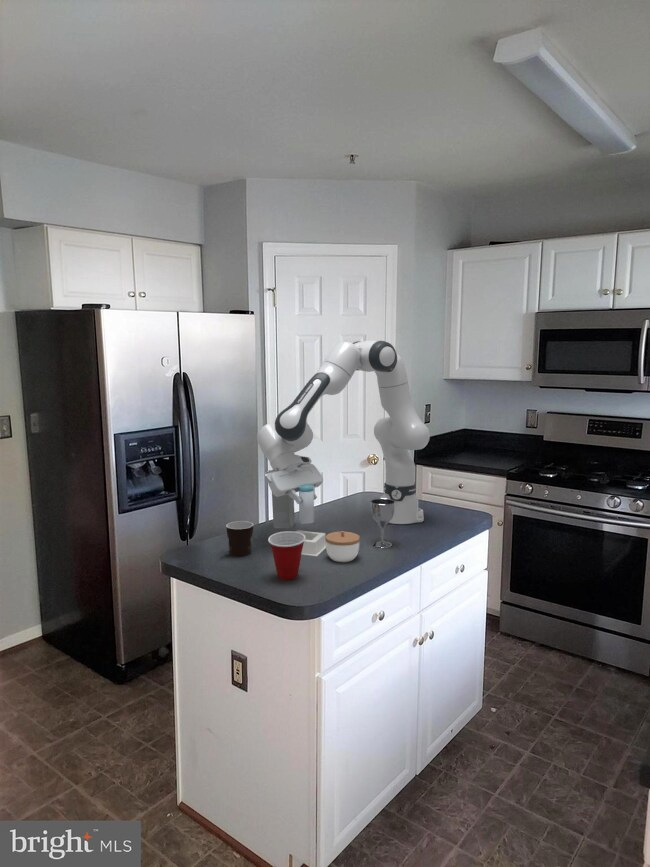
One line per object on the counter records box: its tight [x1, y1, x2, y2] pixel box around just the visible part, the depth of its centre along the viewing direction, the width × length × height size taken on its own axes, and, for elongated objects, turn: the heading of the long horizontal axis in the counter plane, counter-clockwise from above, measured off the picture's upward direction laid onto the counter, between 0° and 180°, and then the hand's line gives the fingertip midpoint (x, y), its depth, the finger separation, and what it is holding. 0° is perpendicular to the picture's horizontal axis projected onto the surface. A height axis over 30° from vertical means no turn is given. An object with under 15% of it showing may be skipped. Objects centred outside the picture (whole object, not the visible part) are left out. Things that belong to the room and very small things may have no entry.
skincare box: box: [271, 492, 296, 530], centre depth 222 cm, size 8×7×16 cm
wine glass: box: [370, 497, 395, 549], centre depth 203 cm, size 8×8×15 cm
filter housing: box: [295, 529, 327, 557], centre depth 198 cm, size 12×12×5 cm
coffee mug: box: [225, 520, 254, 558], centre depth 194 cm, size 12×9×10 cm
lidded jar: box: [325, 530, 361, 563], centre depth 188 cm, size 11×11×9 cm
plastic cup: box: [267, 530, 306, 581], centre depth 175 cm, size 11×11×12 cm
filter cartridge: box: [298, 484, 315, 525], centre depth 196 cm, size 5×5×12 cm
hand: (307, 500), depth 195 cm, fingers closed on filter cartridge, 5 cm apart
